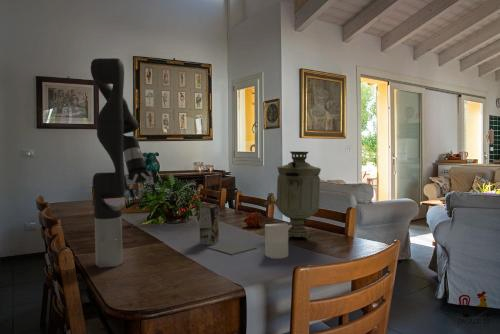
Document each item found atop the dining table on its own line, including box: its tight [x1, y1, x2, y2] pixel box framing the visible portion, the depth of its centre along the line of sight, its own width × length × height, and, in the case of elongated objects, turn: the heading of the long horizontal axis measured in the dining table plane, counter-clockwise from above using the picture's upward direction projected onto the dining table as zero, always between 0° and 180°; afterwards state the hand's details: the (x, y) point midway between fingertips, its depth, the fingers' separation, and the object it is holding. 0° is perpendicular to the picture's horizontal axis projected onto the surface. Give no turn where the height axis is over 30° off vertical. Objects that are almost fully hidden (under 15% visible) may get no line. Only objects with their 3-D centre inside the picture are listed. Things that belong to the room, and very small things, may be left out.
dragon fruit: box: [243, 211, 265, 228], centre depth 206 cm, size 8×8×12 cm
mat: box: [206, 240, 258, 256], centre depth 161 cm, size 16×14×1 cm
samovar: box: [263, 151, 322, 242], centre depth 180 cm, size 30×26×40 cm
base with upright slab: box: [264, 222, 289, 259], centre depth 150 cm, size 9×9×12 cm
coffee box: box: [199, 204, 220, 246], centre depth 171 cm, size 9×6×16 cm
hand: (143, 196), depth 162 cm, fingers open, 8 cm apart
